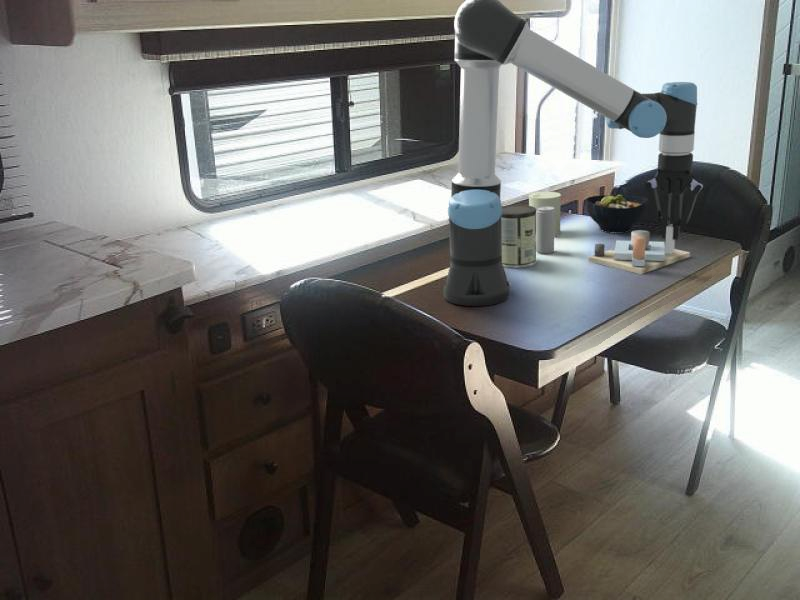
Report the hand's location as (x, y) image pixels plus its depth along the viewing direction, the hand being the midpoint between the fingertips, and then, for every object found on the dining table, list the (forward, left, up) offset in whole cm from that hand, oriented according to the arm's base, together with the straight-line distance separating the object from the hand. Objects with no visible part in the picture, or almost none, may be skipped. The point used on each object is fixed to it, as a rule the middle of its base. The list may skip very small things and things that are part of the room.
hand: (669, 252), depth 189 cm
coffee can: (-18, +33, -6) cm, 38 cm away
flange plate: (+3, +11, -4) cm, 12 cm away
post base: (+5, +12, -5) cm, 14 cm away
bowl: (+25, +35, -6) cm, 44 cm away
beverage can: (-6, +34, -6) cm, 35 cm away
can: (+8, +47, -6) cm, 48 cm away
